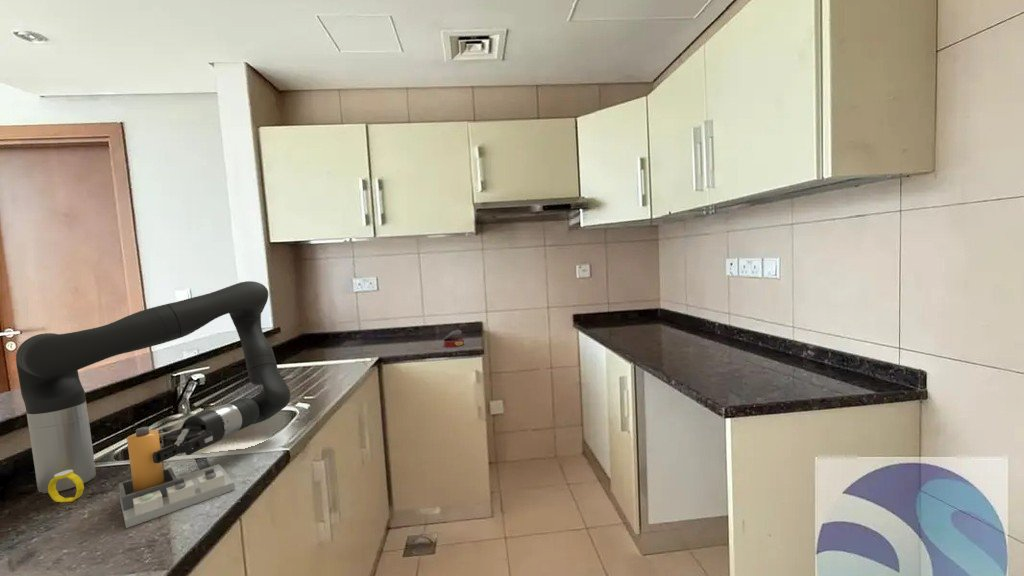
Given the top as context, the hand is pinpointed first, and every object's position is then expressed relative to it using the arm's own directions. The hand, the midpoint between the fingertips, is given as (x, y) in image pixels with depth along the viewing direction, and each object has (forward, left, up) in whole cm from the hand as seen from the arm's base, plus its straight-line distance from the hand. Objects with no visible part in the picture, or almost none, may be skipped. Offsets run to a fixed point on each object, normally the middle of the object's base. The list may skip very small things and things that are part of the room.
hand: (138, 457), depth 88 cm
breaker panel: (+1, +5, -10) cm, 11 cm away
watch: (-16, -11, -10) cm, 21 cm away
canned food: (-72, +129, -10) cm, 148 cm away
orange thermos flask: (-1, +1, -8) cm, 8 cm away
